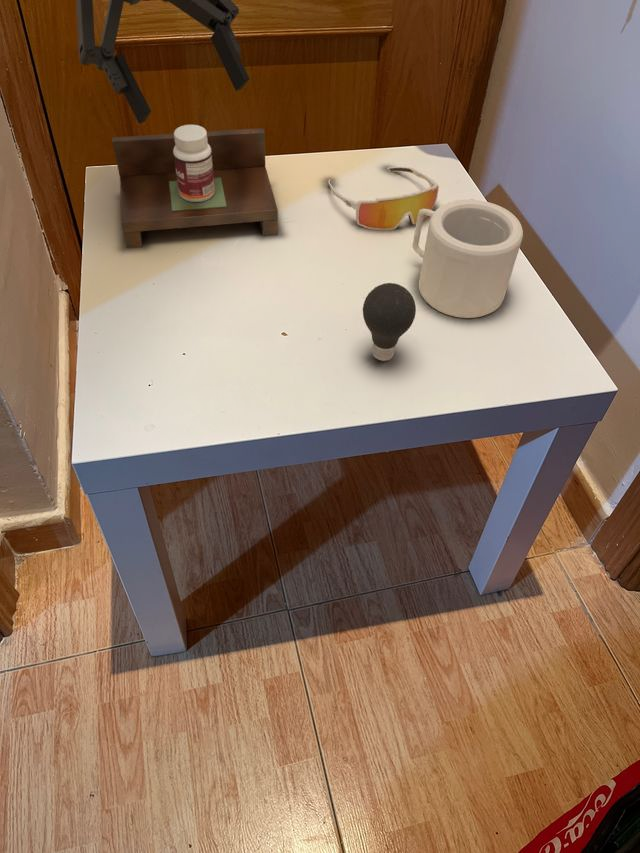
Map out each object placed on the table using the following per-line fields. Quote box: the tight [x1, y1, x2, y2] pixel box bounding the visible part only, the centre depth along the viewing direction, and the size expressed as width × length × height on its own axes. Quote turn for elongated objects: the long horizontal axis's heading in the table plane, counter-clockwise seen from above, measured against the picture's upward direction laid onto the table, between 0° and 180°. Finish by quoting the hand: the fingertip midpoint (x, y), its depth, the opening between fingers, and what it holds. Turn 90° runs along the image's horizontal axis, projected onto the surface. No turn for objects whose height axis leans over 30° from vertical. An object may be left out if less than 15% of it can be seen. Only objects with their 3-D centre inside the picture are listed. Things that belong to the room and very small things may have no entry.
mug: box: [412, 199, 524, 319], centre depth 83 cm, size 14×11×10 cm
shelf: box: [112, 127, 279, 249], centre depth 91 cm, size 20×12×9 cm, turn 101°
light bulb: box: [362, 282, 417, 362], centre depth 75 cm, size 6×6×10 cm
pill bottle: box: [173, 124, 215, 202], centre depth 88 cm, size 5×5×8 cm
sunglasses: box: [327, 166, 440, 231], centre depth 98 cm, size 14×15×5 cm
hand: (196, 101), depth 80 cm, fingers open, 13 cm apart
